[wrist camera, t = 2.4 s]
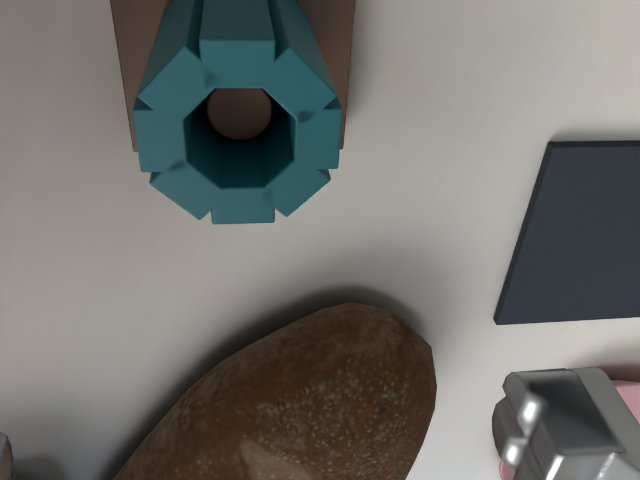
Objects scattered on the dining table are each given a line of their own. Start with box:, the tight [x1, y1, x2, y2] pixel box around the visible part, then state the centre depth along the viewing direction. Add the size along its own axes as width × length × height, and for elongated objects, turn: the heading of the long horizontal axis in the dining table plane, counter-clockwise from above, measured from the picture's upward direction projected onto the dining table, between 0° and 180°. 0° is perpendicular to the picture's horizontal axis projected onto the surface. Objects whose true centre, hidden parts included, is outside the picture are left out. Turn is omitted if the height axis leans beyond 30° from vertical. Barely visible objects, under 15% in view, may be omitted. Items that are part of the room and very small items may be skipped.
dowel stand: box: [110, 0, 355, 152], centre depth 21 cm, size 9×9×8 cm
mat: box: [493, 141, 640, 325], centre depth 33 cm, size 12×12×1 cm
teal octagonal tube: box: [132, 0, 343, 224], centre depth 19 cm, size 6×6×8 cm
